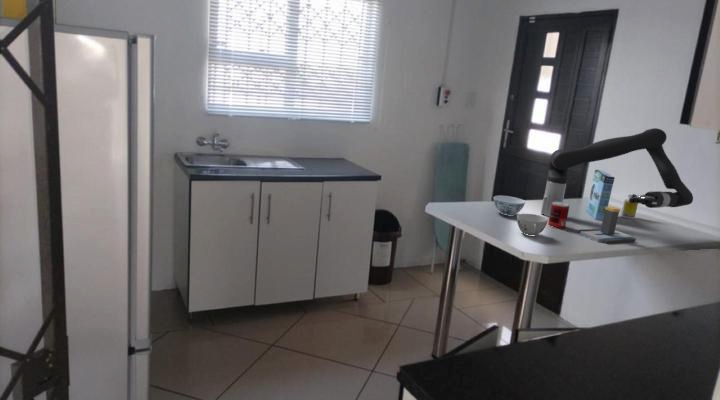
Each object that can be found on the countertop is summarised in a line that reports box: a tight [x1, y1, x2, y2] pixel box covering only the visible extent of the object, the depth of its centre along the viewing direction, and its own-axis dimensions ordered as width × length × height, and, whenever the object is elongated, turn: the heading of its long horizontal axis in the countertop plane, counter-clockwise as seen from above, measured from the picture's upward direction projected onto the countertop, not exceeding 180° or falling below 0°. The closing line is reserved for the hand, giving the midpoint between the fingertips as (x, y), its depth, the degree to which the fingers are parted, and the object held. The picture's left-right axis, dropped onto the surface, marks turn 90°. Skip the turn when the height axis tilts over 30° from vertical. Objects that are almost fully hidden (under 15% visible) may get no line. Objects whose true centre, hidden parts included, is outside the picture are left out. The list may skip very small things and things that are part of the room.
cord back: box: [578, 228, 601, 234], centre depth 239 cm, size 18×1×1 cm, turn 114°
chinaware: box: [493, 195, 526, 216], centre depth 255 cm, size 15×15×8 cm
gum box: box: [585, 169, 615, 222], centre depth 270 cm, size 20×5×23 cm, turn 170°
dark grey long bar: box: [603, 237, 637, 245], centre depth 226 cm, size 18×1×1 cm, turn 114°
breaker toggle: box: [600, 206, 621, 235], centre depth 231 cm, size 4×4×12 cm
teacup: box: [516, 213, 549, 236], centre depth 222 cm, size 15×12×8 cm
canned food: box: [547, 201, 570, 229], centre depth 242 cm, size 8×8×11 cm
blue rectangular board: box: [579, 229, 634, 243], centre depth 232 cm, size 22×10×2 cm, turn 114°
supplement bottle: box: [620, 192, 639, 220], centre depth 275 cm, size 7×7×13 cm
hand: (630, 200), depth 233 cm, fingers closed
